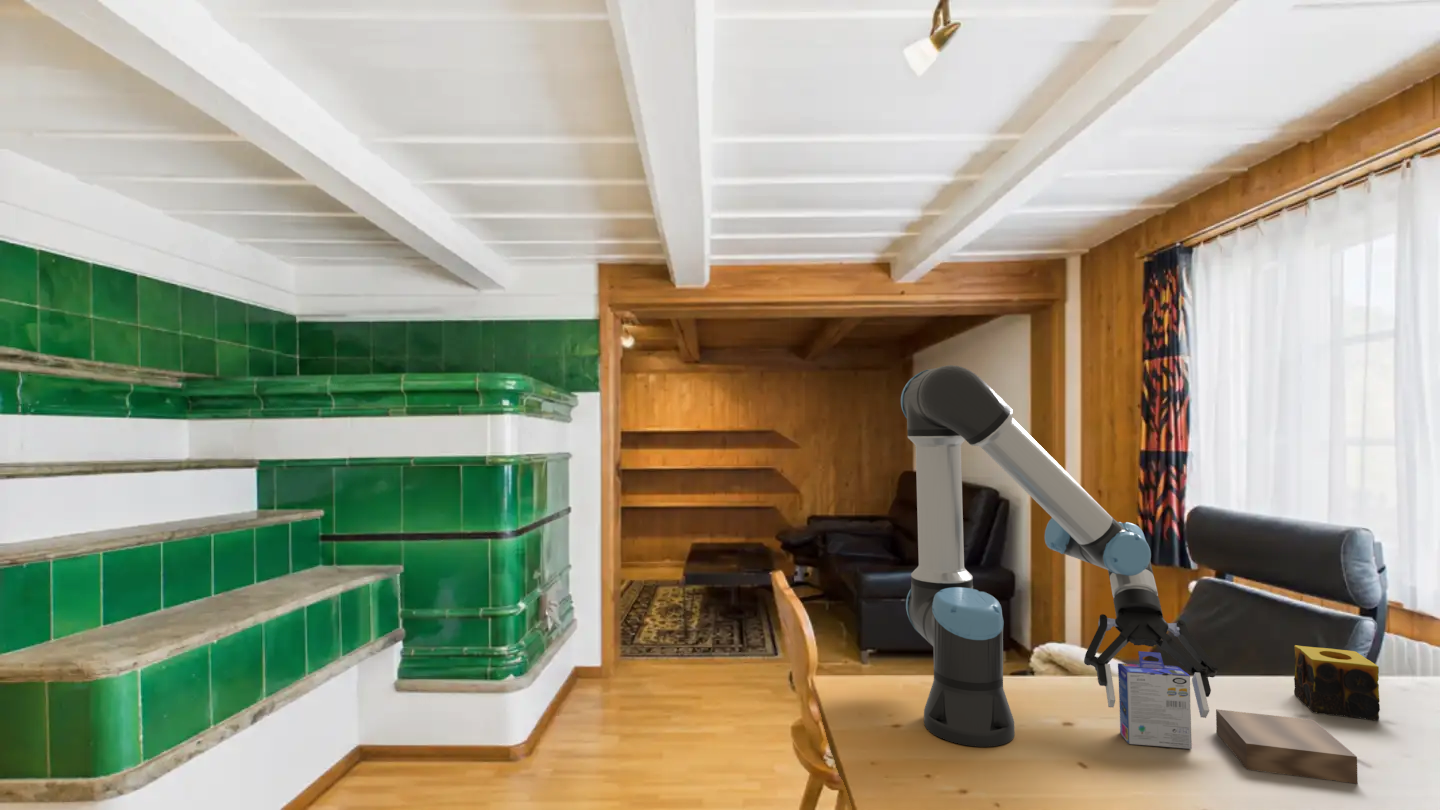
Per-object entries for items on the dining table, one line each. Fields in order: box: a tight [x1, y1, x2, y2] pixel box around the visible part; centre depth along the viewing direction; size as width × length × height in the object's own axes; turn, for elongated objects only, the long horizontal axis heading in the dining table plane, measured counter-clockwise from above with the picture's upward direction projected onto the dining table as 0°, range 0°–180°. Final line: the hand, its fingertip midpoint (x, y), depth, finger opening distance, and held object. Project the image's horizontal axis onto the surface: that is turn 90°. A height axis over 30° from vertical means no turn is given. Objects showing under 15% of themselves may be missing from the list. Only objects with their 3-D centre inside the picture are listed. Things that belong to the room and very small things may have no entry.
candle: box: [1293, 644, 1381, 721], centre depth 136 cm, size 10×10×10 cm
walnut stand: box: [1215, 708, 1359, 785], centre depth 116 cm, size 14×14×4 cm
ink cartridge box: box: [1117, 651, 1193, 750], centre depth 122 cm, size 10×6×14 cm, turn 78°
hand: (1157, 709), depth 119 cm, fingers open, 13 cm apart
